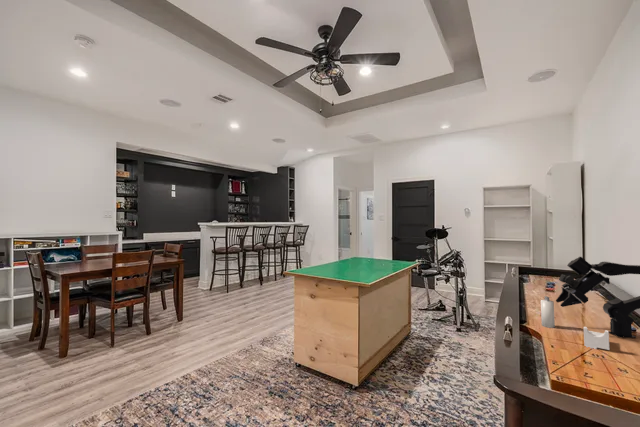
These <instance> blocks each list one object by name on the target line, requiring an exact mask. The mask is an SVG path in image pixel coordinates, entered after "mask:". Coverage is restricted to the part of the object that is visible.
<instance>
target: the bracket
mask: <svg viewBox="0 0 640 427" xmlns="http://www.w3.org/2000/svg"><path fill="white" fill-rule="evenodd" d="M608 331H609V330H606V329H604V332H599V331H592V330H589V328H588V327H587V326H583V341H584V342H583V343H584V344H583V346H586V347H585V348H588V347H590V348H589V349H593V348H594V350H598V349H602V350H607V351H610V333H608Z"/></svg>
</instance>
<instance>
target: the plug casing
mask: <svg viewBox="0 0 640 427" xmlns="http://www.w3.org/2000/svg"><path fill="white" fill-rule="evenodd" d="M554 302H555V301H554V300H550V297H549V296H546V295H545V296H544V299H541V300H540V314H541V315H540V316H541V318H540V320H541V326H542V327H544V328H549V329H554V328H556V326H555V325H556V324H555V323H556V322H555V320H556V319H555V303H554Z"/></svg>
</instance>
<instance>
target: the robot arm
mask: <svg viewBox="0 0 640 427" xmlns="http://www.w3.org/2000/svg"><path fill="white" fill-rule="evenodd" d="M567 267H568V268H570V269H571V270H572V271H573V272H574V273H576V274H577V275H579V276H580V275H582V277H581V278H576V279H575V277H574V276H571V275H568V276H567V275H565V274H563V273H562V274H561V275H560V277H559V278H558V281H560V282H562V283H563V284H562V285H561V292H560V294H559V295H558V297H557V298H556V300H555V302H556V303H560V302H561V303H560V307H561V308H565V307H568V306H573V305H575V306H576V305H580V304H586V303H587V302H589V297H588V296H587V293H589V292H592V291H594V290H595V289H594V288H595V287H597V286H598V285H600V284H601V283H603V282H604V283H605V284H607V285H610V283H611V282H610V276H611V277H612V276H623V275H640V264H639V265H638V264H622V263H616V262H610V261H600V262H599V263H595V264H593V263H592V264H590V262H588V261H587V260H586V259H585V258H584V257H582V256H578V257H576V258H574V259H573V260H571V261H570V262H568V264H567ZM595 271H596V272H595ZM604 275H605V276H604ZM608 276H609V277H608ZM639 309H640V295H639V296H636V297H633V298H632V297H631V298H629V299H626V300H621V299H620V298H618V297H615V298H614V299H612V300H606V302H605V303H604V304H603V306H602V310H603V311H604V312H605V314H607V315H608V317H609V320H610V322H609V324H610V326H609V327H610V330H607V331H608V333H609V334H610V335H614V336H616V337H619V338H627V339H628V338H629V339H630V338H631V339H632V338H634V339H636V338H637V336H635V335H633V328H632V325H633V323H634V321H635V320H634V319H633V318H632V317H631V316H630V315H631V314H633V312H634V311H637V310H639Z"/></svg>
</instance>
